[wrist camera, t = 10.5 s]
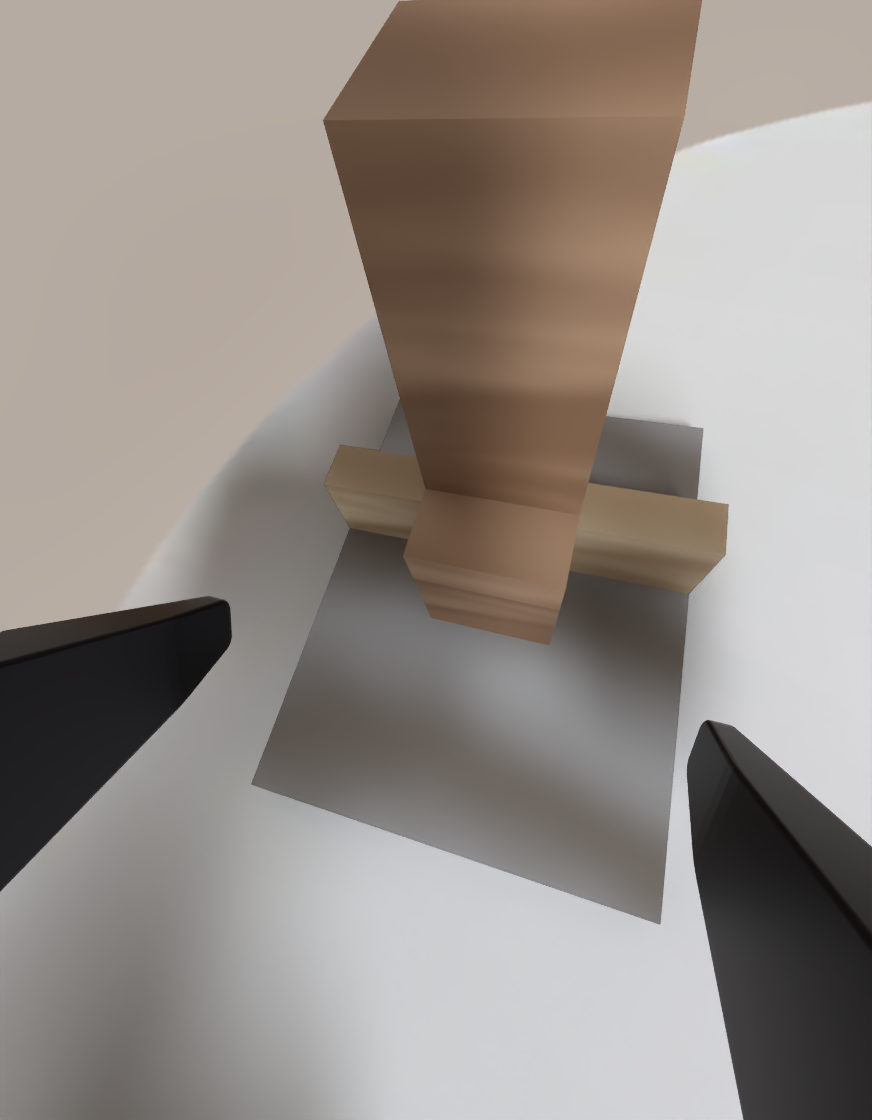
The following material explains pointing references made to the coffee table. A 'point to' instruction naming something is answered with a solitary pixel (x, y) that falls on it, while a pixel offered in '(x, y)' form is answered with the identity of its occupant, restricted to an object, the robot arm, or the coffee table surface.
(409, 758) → the cross plate base
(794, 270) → the coffee table surface
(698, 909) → the coffee table surface
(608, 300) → the wooden block
